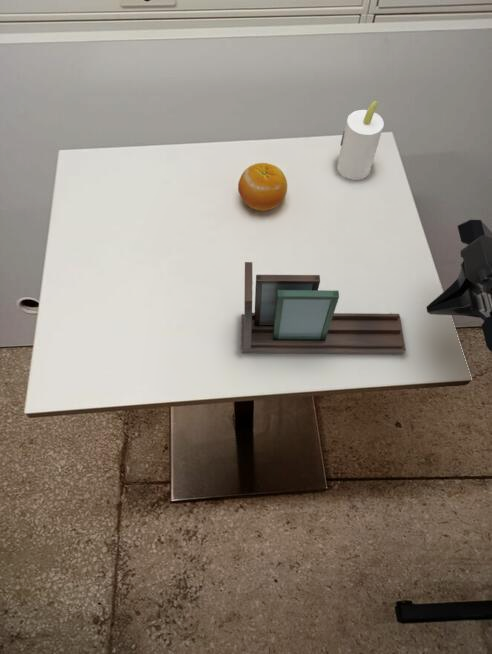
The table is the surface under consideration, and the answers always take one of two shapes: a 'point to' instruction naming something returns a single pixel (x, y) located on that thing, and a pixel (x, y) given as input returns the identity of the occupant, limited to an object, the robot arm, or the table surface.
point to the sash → (303, 314)
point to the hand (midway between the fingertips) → (428, 310)
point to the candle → (359, 143)
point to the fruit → (262, 186)
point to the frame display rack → (343, 333)
